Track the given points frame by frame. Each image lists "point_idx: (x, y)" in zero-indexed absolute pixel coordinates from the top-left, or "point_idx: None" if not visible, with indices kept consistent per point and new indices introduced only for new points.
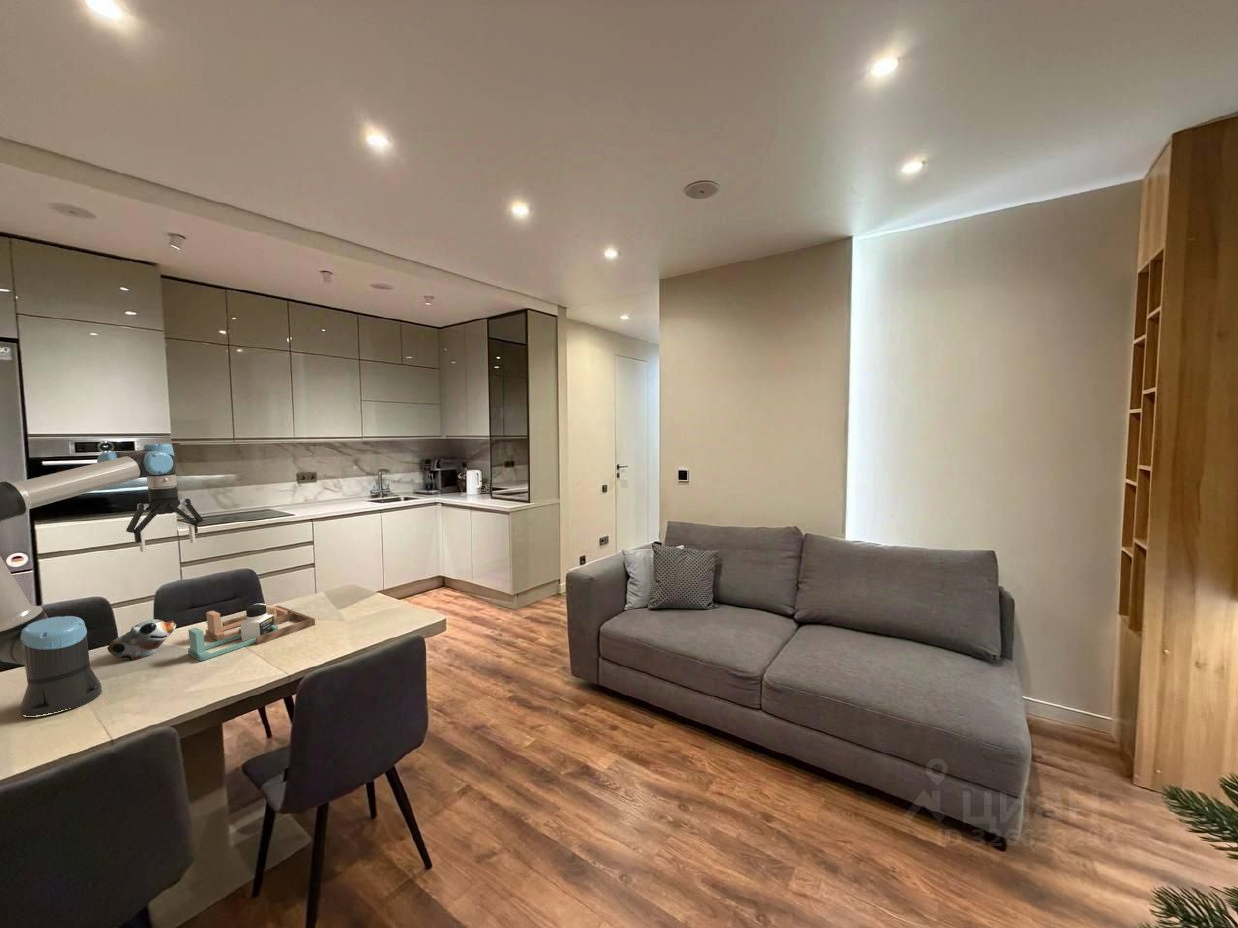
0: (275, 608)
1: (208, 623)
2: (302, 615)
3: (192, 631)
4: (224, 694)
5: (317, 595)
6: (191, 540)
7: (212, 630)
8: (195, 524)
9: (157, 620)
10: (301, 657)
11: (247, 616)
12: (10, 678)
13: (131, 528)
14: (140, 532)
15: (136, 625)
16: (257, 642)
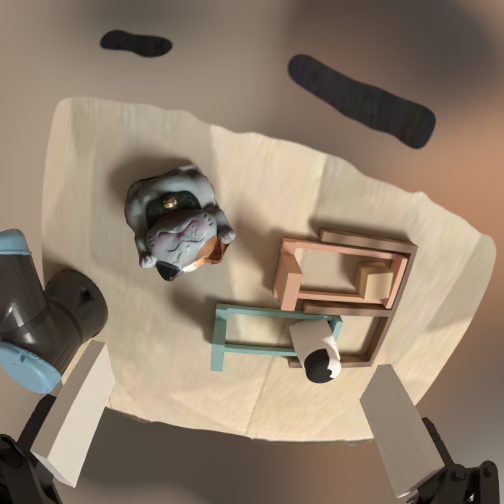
0: (387, 297)
1: (283, 267)
2: (381, 339)
3: (211, 358)
4: (190, 424)
5: (474, 230)
6: (373, 396)
7: (278, 280)
8: (408, 501)
9: (190, 258)
10: (277, 422)
11: (304, 362)
12: (51, 126)
13: (4, 492)
14: (47, 463)
15: (153, 243)
16: (288, 359)
